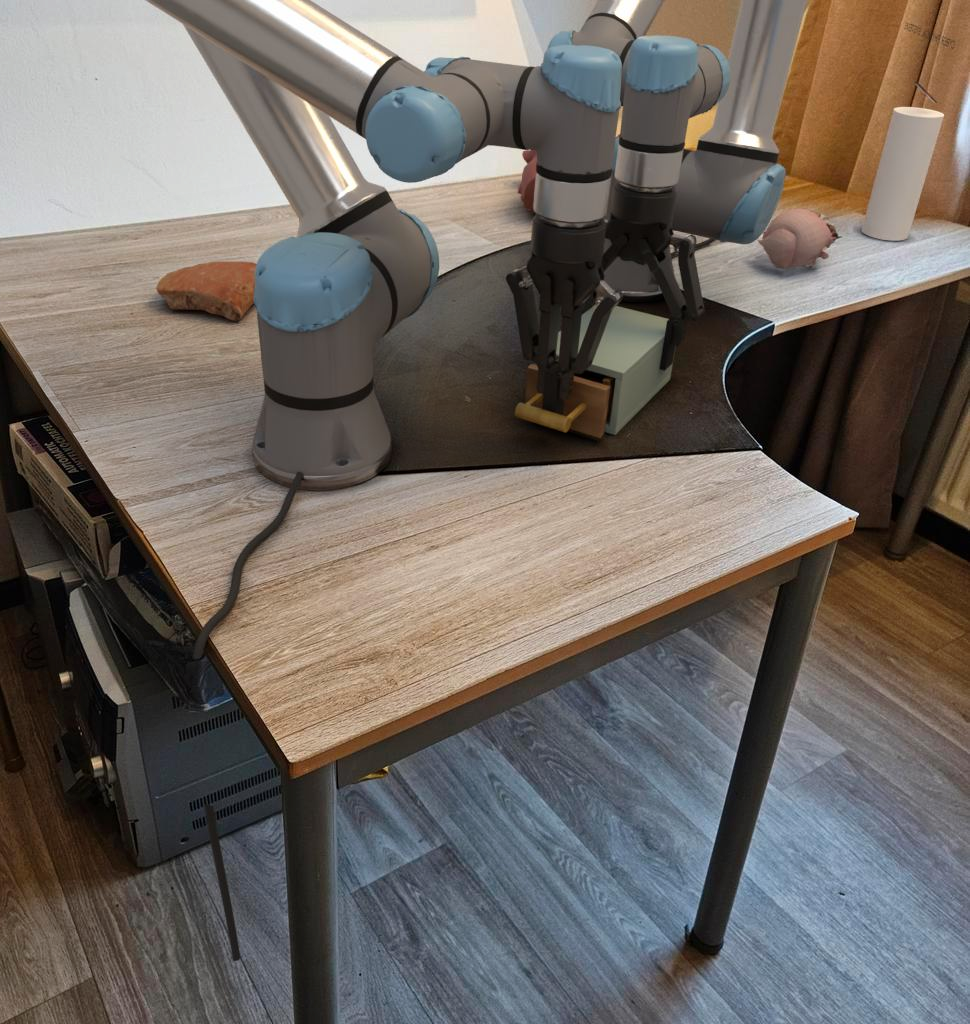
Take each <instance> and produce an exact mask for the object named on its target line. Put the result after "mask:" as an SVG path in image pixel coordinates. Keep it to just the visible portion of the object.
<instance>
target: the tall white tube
mask: <svg viewBox="0 0 970 1024" xmlns="http://www.w3.org/2000/svg"><path fill="white" fill-rule="evenodd" d="M904 30H905V31H907V32H910V33H912V32H913V34H915V33H916V34H917V35H918V36H921V37H923V38H924V37H925V39H928V40H930V41H931V40H932V41H933V42H937V40H938V44H939V43H940V44H942V45H943V46H946V47H947V48H948V47H949V49H950V48H951V49H952V50H953V49H954V48H955V45H956V40H954V39H951V38H948V37H946V36H942V37H941V34H938V35H937V33H934V32H933V31H931V30H926V29H923V34H921V31H922V27H920V26H918V25H915V24H912V23H909V22H908V21H907V22H905V26H904ZM927 33H928V35H927ZM940 37H941V38H940ZM940 39H941V42H940ZM945 39H946V40H945ZM944 42H945V43H944ZM952 43H954V44H953V46H952ZM913 84H914V85H915V86H916V87H917V88H919V90H920V91H921V92H922V95H923V96H924V97H926V98H928V99H929V100H930V101H931V102H932V103H934V104H937V103H938V101H937V100H936V99H935V98H934V97H932V95H931V94H930V93H929V92H928V91H927V90H926V89H925V88H924V87H923V86H922V85H921V84H920V83H919V82H918V81H915V80H914V82H913ZM944 117H945V114H944V113H943V112H940V111H937V110H936V109H935V110H934V109H929V108H924V107H915V106H914V107H913V106H897V107H894V108H893V110H892V114H891V118H890V122H889V126H888V129H887V133H886V137H885V140H884V145H883V148H882V151H881V155H880V159H879V163H878V166H877V170H876V174H875V177H874V182H873V185H872V189H871V193H870V196H869V201H868V203H867V208H866V212H865V215H864V220H863V222H862V227H861V232H862V233H863V234H864V235H866V236H868V237H871V238H873V239H878V240H884V241H893V242H895V241H897V242H898V241H899V242H900V241H905V240H907V239H909V236H910V233H911V229H912V226H913V222H914V219H915V215H916V211H917V210H918V209H917V208H918V206H919V202H920V198H921V195H922V191H923V188H924V184H925V182H926V178H927V175H928V171H929V169H930V165H931V161H932V158H933V155H934V151H935V148H936V145H937V142H938V141H937V140H938V138H939V134H940V130H941V127H942V124H943V121H944Z"/></svg>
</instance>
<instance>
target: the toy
mask: <svg viewBox="0 0 970 1024" xmlns="http://www.w3.org/2000/svg"><path fill="white" fill-rule="evenodd" d="M830 221H831V220H830V219H829V217H827V216H826V215H825V214H824V213H820V214H816V213H814V212H813V211H811V210H808V209H805V208H798V207H797V208H789V209H787V210H784V211H783V212H781V213H779V214H778V215H777V216H776V217H775V218H774V219H772V220H771V221H770V223H769V224H768V226H767V227H766V229H765V231H764V232H763V233H762V239H757V242H758V243H759V245H760V246H762V248H763V251H764V252H765V253H766V255H767V257H768V259H769V261H770V262H771V264H773V266H774V267H775V268H777V269H783V270H785V271H788V270H790V269H792V267H793V268H805V269H807V266H809V268H813V267H814V266H815V265H816V263H817V259H819V258H820V259H822V260H827V259H828V258H829V254H828V253H827V252H826V250H827V249H829V248H830V247H831V245H832V244H834V243H835V242H836V241H837V240H838V239H841V238H842V236H841V235H840V236H839V233H838V232H837V228H836V226H835V223H830Z"/></svg>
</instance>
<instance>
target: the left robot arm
mask: <svg viewBox="0 0 970 1024" xmlns="http://www.w3.org/2000/svg"><path fill="white" fill-rule="evenodd" d="M145 1H146V2H147V3H149V4H150V5H152V6H154V7H155V8H157V9H158V10H160V11H162V12H163V13H165V14H166V15H168V16H169V17H171V18H173V19H174V20H176V21H177V22H179V23H180V24H182V25H183V27H184V29H185V31H186V32H187V35H189V37H190V40H191V41H192V42H193V44H194V46H195V48H196V49H197V51H198V52H199V55H200V56H201V57H202V59H203V61H204V62H205V65H206V66H207V68H208V69H209V71H210V73H211V74H212V76H213V78H214V79H215V81H216V83H217V84H218V86H219V88H220V89H221V91H222V93H223V94H224V96H225V98H226V100H227V101H228V102H229V104H230V106H231V108H232V109H233V111H234V113H235V115H236V116H237V118H238V119H239V120H240V123H241V124H242V126H243V128H244V129H245V131H246V133H247V134H248V136H249V138H250V140H251V141H252V143H253V145H254V146H255V148H256V150H257V152H258V153H259V155H260V156H261V158H262V159H263V162H264V163H265V165H266V166H267V168H268V170H269V171H270V173H271V174H272V177H273V178H274V180H275V181H276V183H277V185H278V187H279V188H280V190H281V191H282V193H283V195H284V196H285V199H286V200H287V201H288V203H289V205H290V206H291V208H292V210H293V212H294V213H295V215H296V217H297V218H298V229H297V234H296V236H290V237H287V238H284V239H282V240H279V241H277V242H275V243H274V244H272V245H270V246H269V247H268V248H267V249H266V250H265V251H264V252H263V253H261V256H259V258H258V259H257V262H256V268H255V288H254V289H255V290H254V303H253V304H254V307H255V311H256V318H257V326H258V327H257V328H258V329H257V330H258V338H259V339H258V340H259V349H260V359H261V369H262V378H263V388H264V390H263V391H264V396H263V400H262V404H261V408H260V412H259V415H258V419H257V423H256V427H255V430H254V434H253V439H252V455H253V460H254V464H255V467H256V468H257V470H258V471H259V472H260V473H261V474H262V475H263V476H265V477H266V478H268V479H269V480H271V481H273V482H275V483H278V484H280V485H283V486H286V487H289V488H288V491H287V493H286V494H285V495H286V496H285V497H284V500H283V503H282V505H281V507H280V510H279V512H278V513H277V514H276V516H275V517H274V519H273V520H272V521H271V523H270V524H268V526H266V527H265V528H264V529H263V530H262V531H260V532H259V533H258V534H257V535H256V536H254V537H253V538H252V539H251V540H250V541H249V542H248V543H246V545H245V547H244V548H243V549H242V550H241V552H240V553H239V555H238V557H237V559H236V561H235V563H234V566H233V570H232V575H231V580H230V587H229V591H228V594H227V598H226V600H225V602H224V604H223V605H222V607H221V608H220V609H219V610H218V611H217V612H216V613H214V614H213V615H212V616H211V617H210V618H209V619H208V620H207V622H206V623H205V624H204V625H203V627H202V629H201V631H200V632H199V634H198V636H197V639H196V640H195V645H194V648H193V652H192V656H191V657H192V659H193V660H199V659H201V658H202V657H203V654H204V651H205V647H206V643H207V641H208V639H209V636H210V635H211V633H212V632H213V631H214V629H215V628H216V627H217V626H218V625H219V624H220V623H221V622H222V621H223V620H224V619H225V618H226V617H227V616H228V615H229V613H231V611H232V609H233V607H234V606H235V603H236V601H237V599H238V597H239V592H240V587H241V582H242V574H243V569H244V566H245V564H246V562H247V559H248V558H249V557H250V555H251V553H252V552H253V551H254V550H255V549H257V547H258V546H260V545H261V544H262V543H263V542H264V541H265V540H267V539H268V538H269V537H270V536H271V535H272V534H274V532H276V530H277V529H278V528H279V527H280V526H281V524H282V523H283V522H284V520H285V519H286V517H287V515H288V513H289V511H290V509H291V506H292V503H293V501H294V498H295V496H296V494H297V491H298V489H301V490H312V491H314V490H315V491H323V490H327V491H328V490H337V489H342V488H348V487H351V486H355V485H358V484H361V483H363V482H366V481H368V480H370V479H373V478H374V477H375V476H377V475H378V474H380V473H381V472H382V471H383V470H384V469H385V468H386V467H387V466H388V464H389V463H390V461H391V458H392V436H391V435H392V434H391V432H390V430H389V427H388V424H387V422H386V419H385V417H384V413H383V411H382V408H381V406H380V403H379V400H378V398H377V395H376V393H375V385H374V346H375V344H376V343H377V342H379V341H380V340H381V339H382V338H384V337H385V336H386V335H387V334H388V333H389V332H391V331H392V330H393V329H394V328H395V327H397V326H398V325H399V324H400V323H401V322H403V320H406V319H407V318H409V317H411V316H413V315H414V314H416V313H417V312H418V311H419V309H421V307H422V306H423V305H424V303H425V302H426V300H427V299H428V298H429V297H430V295H432V293H433V291H434V289H435V287H436V284H437V282H438V277H439V274H440V255H439V250H438V246H437V242H436V240H435V238H434V236H433V234H432V233H431V230H430V229H429V228H428V226H427V225H426V224H425V223H424V222H423V221H422V220H421V219H420V218H419V217H418V216H417V215H415V214H410V213H408V212H407V211H406V210H405V209H403V210H401V209H402V208H398V207H397V206H396V204H395V202H394V200H393V199H392V197H391V195H390V193H389V192H388V190H387V189H386V187H385V186H382V185H379V184H376V183H372V182H370V181H368V180H367V179H366V178H365V177H364V175H363V173H362V172H361V170H360V168H359V167H358V165H357V163H356V161H355V159H354V158H353V156H352V154H351V152H350V150H349V148H348V146H347V145H346V143H345V141H344V140H343V138H342V136H341V134H340V133H339V131H338V129H337V127H336V126H335V124H334V122H333V120H334V121H337V123H339V124H341V125H342V126H344V127H346V128H347V129H349V130H350V131H352V132H353V133H355V134H356V135H358V136H360V137H361V138H363V139H365V141H366V146H367V150H368V152H369V154H370V156H371V157H372V158H373V160H374V162H375V164H376V165H377V166H378V168H379V170H381V172H382V173H384V174H385V175H386V176H388V177H389V178H391V179H393V180H395V181H397V182H401V183H406V184H407V183H408V184H410V183H413V184H414V183H419V182H420V183H421V182H423V181H427V180H430V179H432V178H436V177H438V176H442V175H444V174H446V173H447V172H448V171H450V170H451V169H453V168H454V167H455V165H457V164H458V163H459V162H462V161H463V160H465V159H466V158H468V157H470V156H472V155H474V154H476V153H479V151H482V150H483V149H485V148H486V147H488V146H490V147H491V146H492V147H501V148H510V149H517V150H523V151H527V150H534V151H536V153H537V163H536V181H535V192H534V203H533V209H534V211H535V212H536V213H535V216H533V218H532V224H531V239H530V249H531V250H530V251H531V253H530V256H529V258H528V259H527V261H526V265H525V266H523V267H522V266H518V267H517V268H515V269H514V270H511V272H509V273H507V274H506V276H505V281H506V283H507V285H508V288H509V289H510V292H511V293H512V295H513V302H514V308H515V315H516V321H517V328H518V333H519V341H520V346H521V352H522V353H521V354H522V357H523V359H524V360H525V361H531V362H533V364H536V365H537V367H538V378H537V380H538V381H537V391H538V393H540V394H543V404H542V409H544V410H547V411H550V412H553V413H557V414H560V415H563V409H564V400H566V399H567V398H568V397H569V396H570V395H571V394H572V391H573V381H574V373H576V374H581V373H583V372H584V371H585V370H586V369H587V368H588V367H589V366H591V364H592V362H593V360H594V357H595V354H596V352H597V349H598V346H599V344H600V341H601V339H602V336H603V333H604V331H605V328H606V325H607V323H608V320H609V317H610V315H611V312H612V310H613V309H614V307H615V306H618V304H619V303H620V302H622V301H621V300H622V298H623V293H622V291H620V290H615V291H614V290H613V289H612V288H611V287H610V286H609V285H608V284H607V283H606V282H605V281H604V278H605V275H604V271H603V269H602V257H603V250H604V241H605V232H606V222H605V221H604V219H603V218H604V217H605V216H606V215H607V212H608V203H609V194H610V185H611V174H612V163H613V155H614V147H615V139H616V137H617V131H618V125H619V124H618V123H619V116H620V110H621V108H622V106H621V101H620V89H621V72H622V63H621V60H620V58H619V56H618V55H617V54H616V53H615V52H613V51H611V50H609V49H605V48H601V47H595V46H587V45H581V46H578V45H576V46H575V45H559V46H554V47H551V48H549V49H547V48H546V50H545V52H544V53H543V60H542V63H541V64H540V65H538V66H537V65H536V66H527V65H526V66H525V65H518V64H512V63H511V64H510V63H503V62H496V61H486V60H479V59H471V57H467V56H460V57H442V56H441V57H440V56H439V57H436V58H433V59H432V60H430V61H429V62H428V63H427V64H426V67H425V70H422V69H420V68H418V67H417V66H416V65H413V64H412V63H411V62H409V61H407V60H406V59H404V58H402V57H401V56H399V54H396V53H395V52H393V51H392V50H390V49H389V48H387V47H386V46H384V45H382V44H381V43H379V42H378V41H376V40H374V39H373V38H371V37H370V36H368V35H367V34H366V33H364V32H362V31H361V30H359V29H357V28H356V27H354V26H353V25H351V24H349V23H347V22H346V21H344V20H342V19H341V18H340V17H338V16H336V15H335V14H333V13H331V12H330V11H329V10H327V9H325V8H323V7H321V5H319V4H317V3H316V2H314V1H312V0H145ZM331 118H332V119H333V120H332V119H331ZM533 284H534V286H535V288H536V291H537V292H538V294H539V302H538V303H539V304H538V309H539V312H540V317H538V311H537V305H536V297H535V291H534V287H533ZM595 291H596V292H597V295H596V296H595V298H594V305H596V306H598V307H597V308H596V309H595V311H594V312H593V315H592V317H591V320H590V323H589V325H588V328H587V331H586V333H585V336H584V339H583V342H582V344H581V347H580V350H579V353H578V348H579V338H580V328H581V318H582V311H583V309H584V305H585V301H586V300H587V299H588V298H589V297H590V296H591V295H592V294H593V293H594V292H595ZM593 295H594V294H593ZM560 316H561V317H560ZM560 318H561V326H560ZM560 327H561V328H560ZM559 328H560V331H561V338H560V350H559V356H557V355H556V352H557V341H558V332H559ZM556 356H557V357H556ZM558 357H559V361H558V364H557V363H555V364H554V361H555V360H556V359H557V358H558ZM203 807H204V814H205V819H206V825H207V830H208V836H209V841H210V846H211V851H212V856H213V861H214V867H215V872H216V876H217V882H218V887H219V891H220V897H221V902H222V907H223V911H224V917H225V922H226V927H227V928H226V929H227V933H228V938H229V944H230V950H231V951H230V952H231V956H232V960H233V962H238V961H239V960H240V959H241V952H240V951H241V950H240V946H239V940H238V932H237V927H236V922H235V916H234V911H233V910H234V909H233V906H232V900H231V895H230V889H229V884H228V879H227V873H226V869H225V863H224V858H223V853H222V848H221V842H220V837H219V832H218V826H217V820H216V813H215V807H214V805H211V804H206V803H204V804H203Z"/></svg>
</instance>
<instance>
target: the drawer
mask: <svg viewBox="0 0 970 1024" xmlns="http://www.w3.org/2000/svg"><path fill="white" fill-rule="evenodd" d="M555 363H557V364H558V362H557V361H554V364H555ZM535 364H536V363H531V364H530V365H528V366H527V369H526V381H525V384H526V385H525V393H524V394H525V397H524V402H519V403H517V405H516V407H515V410H514V416H515V417H516V418H518V419H522V420H523V421H524V420H525V421H528V422H531V423H535V424H538V425H541V426H543V427H547V428H550V429H553V430H556V431H559V432H563V433H568V432H569V430H572V431H575V432H578V433H580V434H585V435H588V436H590V437H591V436H592V437H594V438H598V439H601V438H602V437H603V436H604V435H605V432H604V431H605V423H606V421H607V420H608V419H609V418H610V417H611V411H612V403H613V395H614V388H615V380H616V378H613V377H610V376H606V375H603V374H599V373H596V372H592V371H589V370H585V371H584V372H583V373H581V374H576V373H574V381H573V391H572V394H571V395H570V396H569V397H568V398H567V399H566V400H564V409H563V415H560V414H557V413H553V412H550V411H547V410H544V409H542V404H543V394H540V393H538V391H537V381H538V380H537V378H538V367H537V365H535Z"/></svg>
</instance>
